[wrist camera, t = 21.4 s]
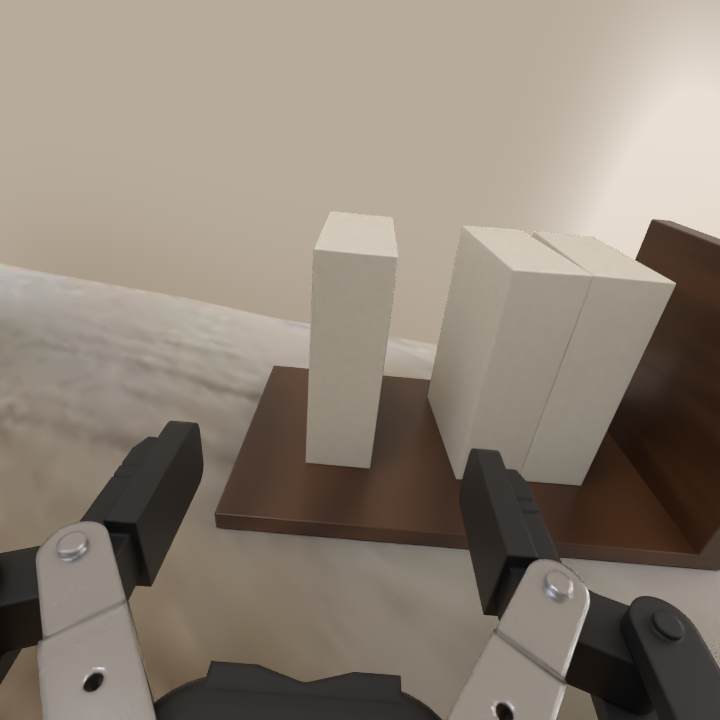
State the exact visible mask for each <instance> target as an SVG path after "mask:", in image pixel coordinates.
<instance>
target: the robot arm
mask: <svg viewBox="0 0 720 720" xmlns="http://www.w3.org/2000/svg"><path fill="white" fill-rule="evenodd" d="M202 474H203V454H202V445H201V437H200V429H199V425H198V424H197V423H192V422H180V421H169V422H168V423H167V425H166V426H165V428H164V429H163V431H162V432H161V434H160V435H159V437H158V438H157V437H148V438H146V439H145V440H143V441H142V442H141V443H139V444H138V445H136V446H135V447H134V448H132V450H131V451H130V453H129V454H128V455H127V457H126V458H125V460H124V461H123V463H122V465H120V466H119V468H118V469H117V471H116V472H115V473H114V477H112V478H111V479H110V480H109V482H108V483H107V484H106V486H105V487H104V489H103V490H102V491H101V493H100V494H99V496H98V497H97V498H96V500H95V501H94V503H93V504H92V505H91V507H90V508H89V509H88V511H87V512H86V514H85V515H84V516H83V518H82V519H81V520H80V522H78V523H74V524H71V525H68V526H66V527H63V528H62V529H60V530H58V531H56V532H55V533H53V534H52V535H51V536H50V537H48V538H47V539H46V540H45V541H44V543H43V544H42V545H41V546H37V547H32V548H27V549H21V550H16V551H10V552H5V553H0V684H1V683H2V681H3V679H4V678H5V676H6V674H7V673H8V671H9V669H10V668H11V666H12V664H13V663H14V661H15V659H16V658H17V656H18V654H19V653H20V651H21V649H22V648H26V647H30V646H34V645H37V658H38V670H39V682H40V694H41V706H42V718H43V720H442V719H441V718H440V717H439V716H438V715H437V714H436V713H435V712H434V711H433V710H431V709H430V708H429V707H428V706H426V705H425V704H424V703H422V702H421V701H420V700H418V699H416V698H414V697H413V696H411V695H409V694H407V693H404V692H402V691H401V676H399V675H386V674H373V673H360V672H352V673H348V674H343V675H339V676H334V677H330V678H325V679H321V680H316V681H312V682H301V681H298V680H295V679H293V678H290V677H288V676H285V675H283V674H280V673H278V672H275V671H273V670H270V669H268V668H265V667H263V666H260V665H256V664H243V663H230V662H217V661H211V663H210V667H209V670H208V673H207V677H204V678H199V679H196V680H194V681H191V682H188V683H186V684H184V685H182V686H180V687H177V688H175V689H174V690H172V691H170V692H169V693H167V694H166V695H164V696H163V697H161V698H160V699H159V700H157V701H156V702H155V698H154V694H153V691H152V687H151V684H150V680H149V676H148V673H147V669H146V665H145V662H144V658H143V654H142V650H141V646H140V643H139V639H138V635H137V631H136V628H135V624H134V620H133V616H132V612H131V609H130V605H129V601H128V600H129V598H130V596H131V594H132V592H133V590H134V588H135V586H136V585H137V586H149V587H151V586H152V584H153V582H154V580H155V578H156V576H157V573H158V571H159V569H160V567H161V565H162V563H163V561H164V559H165V556H166V554H167V552H168V550H169V548H170V546H171V544H172V542H173V539H174V537H175V535H176V533H177V531H178V529H179V527H180V525H181V522H182V520H183V518H184V516H185V514H186V512H187V510H188V508H189V505H190V503H191V501H192V499H193V497H194V495H195V493H196V491H197V488H198V486H199V484H200V481H201V478H202ZM459 503H460V509H461V514H462V518H463V523H464V528H465V532H466V537H467V541H468V546H469V550H470V555H471V559H472V564H473V569H474V573H475V578H476V582H477V587H478V591H479V596H480V600H481V605H482V610H483V614H484V615H492V616H498V619H499V624H498V626H497V627H496V629H494V631H493V633H492V634H491V636H490V638H489V640H488V642H487V644H486V646H485V648H484V650H483V651H482V653H481V655H480V657H479V659H478V661H477V663H476V665H475V667H474V669H473V670H472V672H471V674H470V676H469V678H468V680H467V682H466V684H465V686H464V688H463V689H462V691H461V693H460V695H459V697H458V699H457V701H456V703H455V705H454V707H453V708H452V710H451V712H450V714H449V716H448V718H447V720H556V717H557V714H558V711H559V708H560V705H561V702H562V699H563V696H564V693H565V689H566V684H569V685H571V686H574V687H576V688H578V689H581V690H583V691H585V692H587V693H590V695H591V698H592V701H593V704H594V707H595V710H596V713H597V717H598V720H720V668H719V666H718V665H717V663H716V661H715V659H714V658H713V656H712V654H711V652H710V651H709V649H708V647H707V645H706V644H705V642H704V640H703V638H702V637H701V635H700V633H699V632H698V630H697V628H696V627H695V626H694V624H693V623H692V622H691V621H690V620H689V619H688V618H687V617H686V615H684V614H683V613H682V612H681V611H680V610H678V609H677V608H676V607H674V606H673V605H671V604H669V603H668V602H665V601H663V600H661V599H658V598H655V597H651V596H641V597H638V598H636V599H635V600H633V602H632V603H631V605H630V606H627V605H625V604H622V603H619V602H617V601H614V600H611V599H609V598H606V597H603V596H601V595H598V594H596V593H594V592H592V591H590V590H588V589H587V587H586V585H585V584H584V582H583V581H582V579H581V578H580V577H579V576H578V575H577V574H576V573H575V572H574V571H573V570H571V569H570V568H569V567H567V566H565V565H564V564H562V562H561V560H560V558H559V555H558V553H557V550H556V548H555V546H554V543H553V541H552V538H551V536H550V534H549V531H548V529H547V527H546V524H545V522H544V519H543V517H542V515H541V514H540V510H539V507H538V505H537V503H536V502H535V498H534V495H533V493H532V491H531V488H530V486H529V484H528V482H527V481H526V480H525V479H524V478H523V477H522V476H521V475H520V474H519V473H518V471H517V470H514V469H506V467H505V465H504V462H503V459H502V457H501V454H500V452H499V451H498V450H489V449H478V448H472V449H471V450H470V453H469V456H468V460H467V463H466V467H465V470H464V474H463V478H462V481H461V485H460V491H459Z"/></svg>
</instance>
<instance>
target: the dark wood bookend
mask: <svg viewBox="0 0 720 720" xmlns="http://www.w3.org/2000/svg"><path fill="white" fill-rule="evenodd" d="M635 260H636V261H637V262H639V263H641V264H643V265H645V266H646V267H648V268H650V269H652V270H654V271H655V272H657V273H659V274H661V275H662V276H664V277H666V278H668V279H670V280H671V281H673V282H675V283H676V285H675V287H674V290H673V292H672V294H671V296H670V298H669V300H668V302H667V304H666V307H665V309H664V311H663V313H662V315H661V317H660V319H659V321H658V324H657V326H656V328H655V330H654V332H653V334H652V336H651V338H650V340H649V343H648V345H647V347H646V349H645V351H644V353H643V355H642V357H641V360H640V362H639V364H638V366H637V368H636V370H635V372H634V374H633V376H632V379H631V381H630V383H629V385H628V387H627V389H626V391H625V393H624V396H623V398H622V400H621V402H620V404H619V406H618V408H617V410H616V413H615V415H614V417H613V419H612V421H611V423H610V425H609V427H608V429H607V432H606V434H605V436H604V438H603V440H602V442H601V444H600V446H599V449H598V451H597V453H596V455H595V457H594V459H593V461H592V463H591V465H590V468H589V470H588V472H587V474H586V476H585V478H584V480H583V482H582V485H581V486H577V485H566V484H554V483H542V482H531V481H527V482H528V484H529V486H530V488H531V491H532V493H533V495H534V498H535V502H536V503H537V505H538V507H539V510H540V514H541V515H542V517H543V519H544V522H545V524H546V527H547V529H548V531H549V534H550V536H551V538H552V541H553V543H554V546H555V548H556V550H557V553H558V555H559V557H570V558H582V559H594V560H606V561H617V562H629V563H641V564H652V565H664V566H676V567H688V568H699V569H710V570H720V239H718V238H715V237H712V236H710V235H707V234H704V233H701V232H699V231H696V230H693V229H690V228H688V227H685V226H682V225H680V224H677V223H674V222H671V221H665V220H654V219H653V220H652V221H651V223H650V225H649V228H648V230H647V233H646V235H645V238H644V240H643V242H642V245H641V248H640V250H639V252H638V255H637V257H636V259H635ZM308 382H309V369H305V368H294V367H283V366H274V367H273V369H272V372H271V374H270V377H269V379H268V382H267V384H266V387H265V389H264V392H263V394H262V397H261V399H260V402H259V404H258V407H257V409H256V412H255V414H254V417H253V419H252V422H251V424H250V427H249V429H248V432H247V434H246V437H245V439H244V442H243V444H242V447H241V449H240V452H239V454H238V457H237V459H236V462H235V464H234V467H233V469H232V472H231V474H230V477H229V479H228V482H227V484H226V487H225V489H224V492H223V494H222V497H221V499H220V502H219V504H218V507H217V509H216V512H215V520H216V527H219V528H230V529H242V530H254V531H266V532H277V533H289V534H301V535H313V536H324V537H336V538H348V539H359V540H371V541H383V542H395V543H406V544H418V545H430V546H441V547H453V548H465V549H469V546H468V541H467V537H466V532H465V528H464V523H463V518H462V514H461V509H460V503H459V491H460V485H461V481H462V479H456V478H455V475H454V472H453V469H452V466H451V463H450V460H449V457H448V454H447V452H446V449H445V446H444V443H443V440H442V437H441V434H440V431H439V429H438V426H437V423H436V420H435V417H434V414H433V411H432V408H431V405H430V403H429V400H428V397H427V396H428V391H429V387H430V382H431V380H424V379H413V378H402V377H391V376H383V377H382V384H381V392H380V399H379V406H378V414H377V421H376V429H375V436H374V443H373V451H372V458H371V465H370V468H358V467H347V466H336V465H325V464H313V463H306V436H307V409H308Z"/></svg>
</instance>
